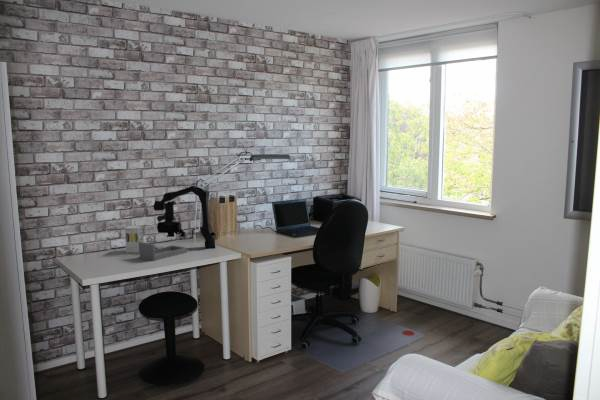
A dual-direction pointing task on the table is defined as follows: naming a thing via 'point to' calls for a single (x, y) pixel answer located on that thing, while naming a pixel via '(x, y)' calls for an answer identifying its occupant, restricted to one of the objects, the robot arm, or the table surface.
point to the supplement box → (133, 238)
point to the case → (158, 251)
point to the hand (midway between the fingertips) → (170, 232)
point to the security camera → (176, 229)
